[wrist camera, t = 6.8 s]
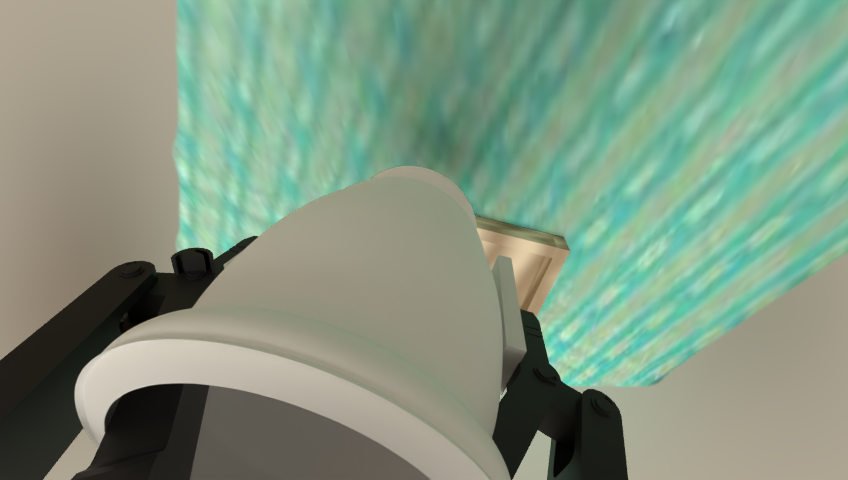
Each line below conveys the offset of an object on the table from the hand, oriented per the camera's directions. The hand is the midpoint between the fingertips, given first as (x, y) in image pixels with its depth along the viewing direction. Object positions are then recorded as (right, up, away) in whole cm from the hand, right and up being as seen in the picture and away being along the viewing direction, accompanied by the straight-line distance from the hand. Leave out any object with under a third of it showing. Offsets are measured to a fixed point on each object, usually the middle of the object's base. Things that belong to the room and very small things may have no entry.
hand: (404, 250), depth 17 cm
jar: (+1, +1, +3) cm, 3 cm away
